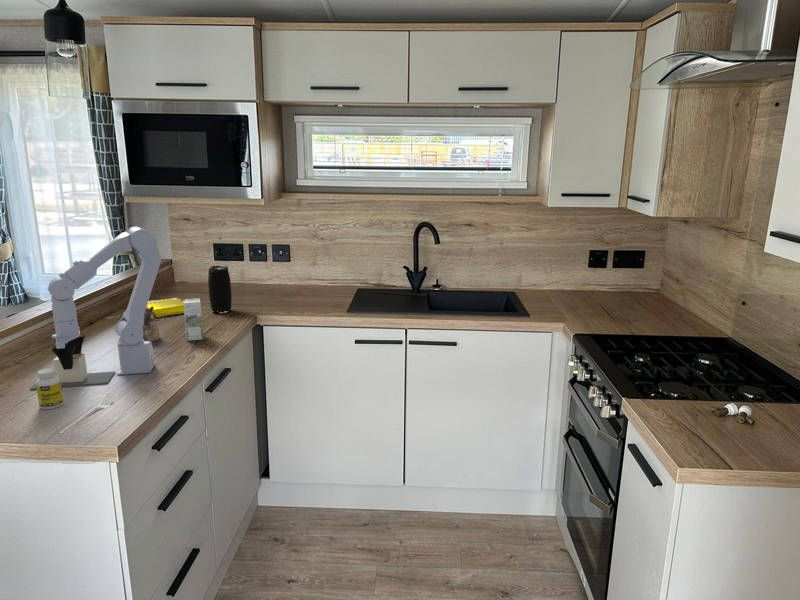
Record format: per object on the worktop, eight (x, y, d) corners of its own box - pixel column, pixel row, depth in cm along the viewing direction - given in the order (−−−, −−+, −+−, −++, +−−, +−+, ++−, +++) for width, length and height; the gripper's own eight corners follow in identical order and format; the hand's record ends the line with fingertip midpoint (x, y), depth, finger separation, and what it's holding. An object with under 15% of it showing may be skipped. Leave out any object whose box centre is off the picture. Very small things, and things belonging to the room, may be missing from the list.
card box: (62, 377, 167) (58, 354, 166) (87, 376, 168) (84, 353, 167) (56, 382, 164) (52, 359, 162) (82, 381, 165) (79, 358, 163)
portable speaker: (236, 310, 245) (233, 265, 241) (222, 315, 237) (219, 269, 232) (220, 308, 248) (217, 264, 244) (206, 313, 240) (202, 268, 235)
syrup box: (203, 335, 210) (199, 297, 206) (203, 340, 204) (200, 301, 201) (186, 337, 208) (183, 298, 204) (186, 342, 202) (183, 302, 199)
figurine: (136, 338, 206) (132, 307, 203) (156, 335, 210) (153, 303, 207) (142, 343, 200) (138, 310, 198) (162, 339, 205) (159, 307, 202)
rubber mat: (115, 372, 173) (115, 371, 173) (107, 383, 164) (107, 382, 164) (42, 378, 168) (41, 376, 168) (30, 390, 160) (30, 388, 160)
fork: (53, 436, 135) (52, 429, 134) (106, 400, 154) (105, 393, 153) (66, 437, 134) (65, 430, 134) (117, 401, 153) (117, 394, 153)
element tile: (151, 319, 232) (150, 308, 231) (142, 311, 244) (141, 301, 243) (188, 314, 241) (187, 303, 240) (178, 306, 253) (177, 296, 252)
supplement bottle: (40, 411, 146) (34, 376, 144) (38, 404, 150) (33, 369, 148) (64, 406, 149) (59, 371, 147) (62, 399, 153) (57, 365, 151)
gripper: (58, 313, 168) (65, 357, 171) (40, 327, 154) (48, 374, 157) (84, 312, 169) (90, 355, 173) (69, 325, 156) (76, 372, 159)
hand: (72, 364), depth 165 cm, fingers open, 7 cm apart
